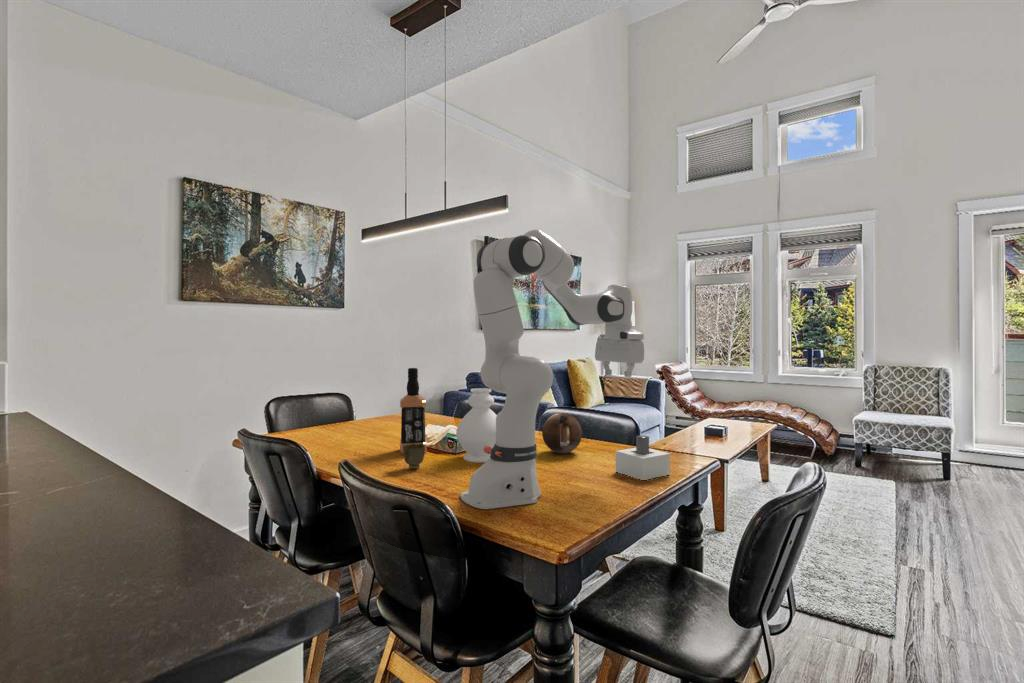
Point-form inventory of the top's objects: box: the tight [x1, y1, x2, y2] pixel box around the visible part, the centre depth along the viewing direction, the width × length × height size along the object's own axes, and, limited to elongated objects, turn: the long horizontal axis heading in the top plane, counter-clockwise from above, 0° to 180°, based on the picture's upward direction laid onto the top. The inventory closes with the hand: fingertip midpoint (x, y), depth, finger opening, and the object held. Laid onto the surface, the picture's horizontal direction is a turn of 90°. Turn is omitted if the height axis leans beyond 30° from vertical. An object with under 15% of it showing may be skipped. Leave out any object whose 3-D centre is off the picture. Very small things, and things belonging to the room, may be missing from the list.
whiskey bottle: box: [399, 367, 428, 456], centre depth 197 cm, size 10×10×32 cm
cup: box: [403, 443, 425, 471], centre depth 172 cm, size 8×7×8 cm
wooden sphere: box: [541, 412, 583, 454], centre depth 195 cm, size 15×15×15 cm
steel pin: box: [635, 435, 650, 455], centre depth 166 cm, size 4×4×12 cm
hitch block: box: [615, 447, 671, 481], centre depth 166 cm, size 12×12×7 cm
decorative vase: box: [455, 387, 497, 463], centre depth 187 cm, size 18×18×25 cm
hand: (617, 375), depth 172 cm, fingers open, 8 cm apart
